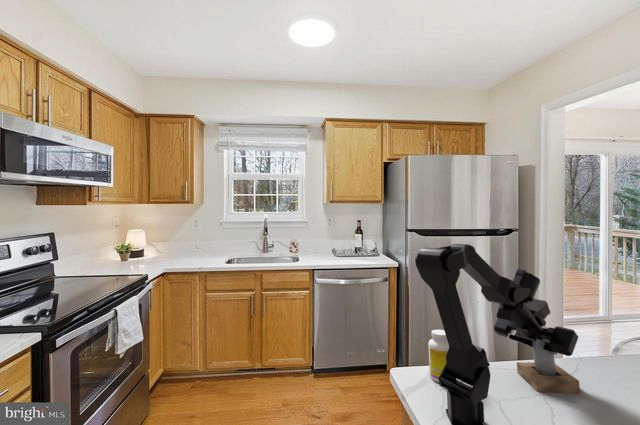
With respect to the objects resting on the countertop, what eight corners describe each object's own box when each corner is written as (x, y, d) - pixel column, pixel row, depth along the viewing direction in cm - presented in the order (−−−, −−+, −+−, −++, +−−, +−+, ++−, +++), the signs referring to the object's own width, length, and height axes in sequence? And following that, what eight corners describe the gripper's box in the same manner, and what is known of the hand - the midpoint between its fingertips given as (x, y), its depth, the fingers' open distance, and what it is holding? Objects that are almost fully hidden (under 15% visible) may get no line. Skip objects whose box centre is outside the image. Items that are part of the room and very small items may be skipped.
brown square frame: (536, 391, 79) (536, 379, 79) (517, 372, 89) (516, 362, 89) (579, 393, 77) (579, 381, 78) (555, 374, 87) (554, 363, 88)
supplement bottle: (457, 385, 83) (455, 336, 83) (431, 383, 84) (429, 335, 85) (452, 373, 89) (450, 328, 90) (428, 372, 91) (426, 327, 91)
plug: (542, 385, 81) (536, 331, 82) (532, 377, 86) (526, 326, 87) (561, 386, 81) (555, 331, 82) (550, 378, 85) (544, 326, 86)
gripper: (571, 297, 75) (597, 335, 79) (497, 285, 91) (521, 317, 96) (556, 336, 71) (583, 374, 75) (481, 316, 87) (507, 348, 92)
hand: (546, 350), depth 85 cm, fingers closed on plug, 5 cm apart
